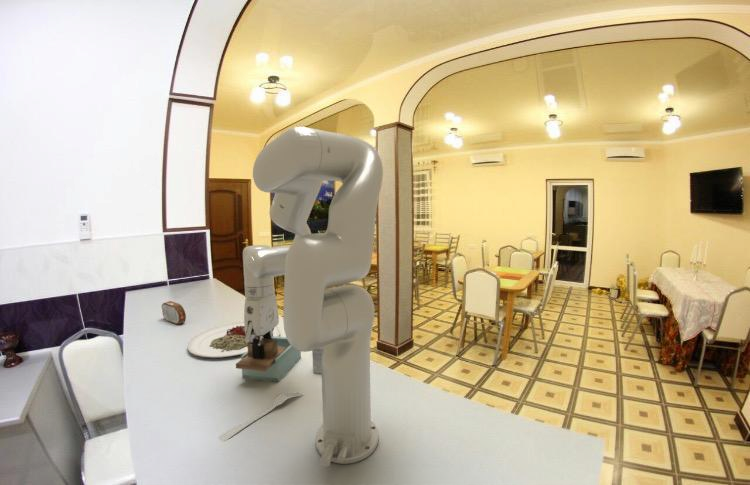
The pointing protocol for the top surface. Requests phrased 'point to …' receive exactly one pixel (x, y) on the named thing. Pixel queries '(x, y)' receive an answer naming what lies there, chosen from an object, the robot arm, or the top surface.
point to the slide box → (279, 367)
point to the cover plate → (269, 356)
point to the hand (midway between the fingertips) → (263, 354)
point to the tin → (173, 312)
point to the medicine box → (317, 360)
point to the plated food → (222, 341)
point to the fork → (236, 429)
